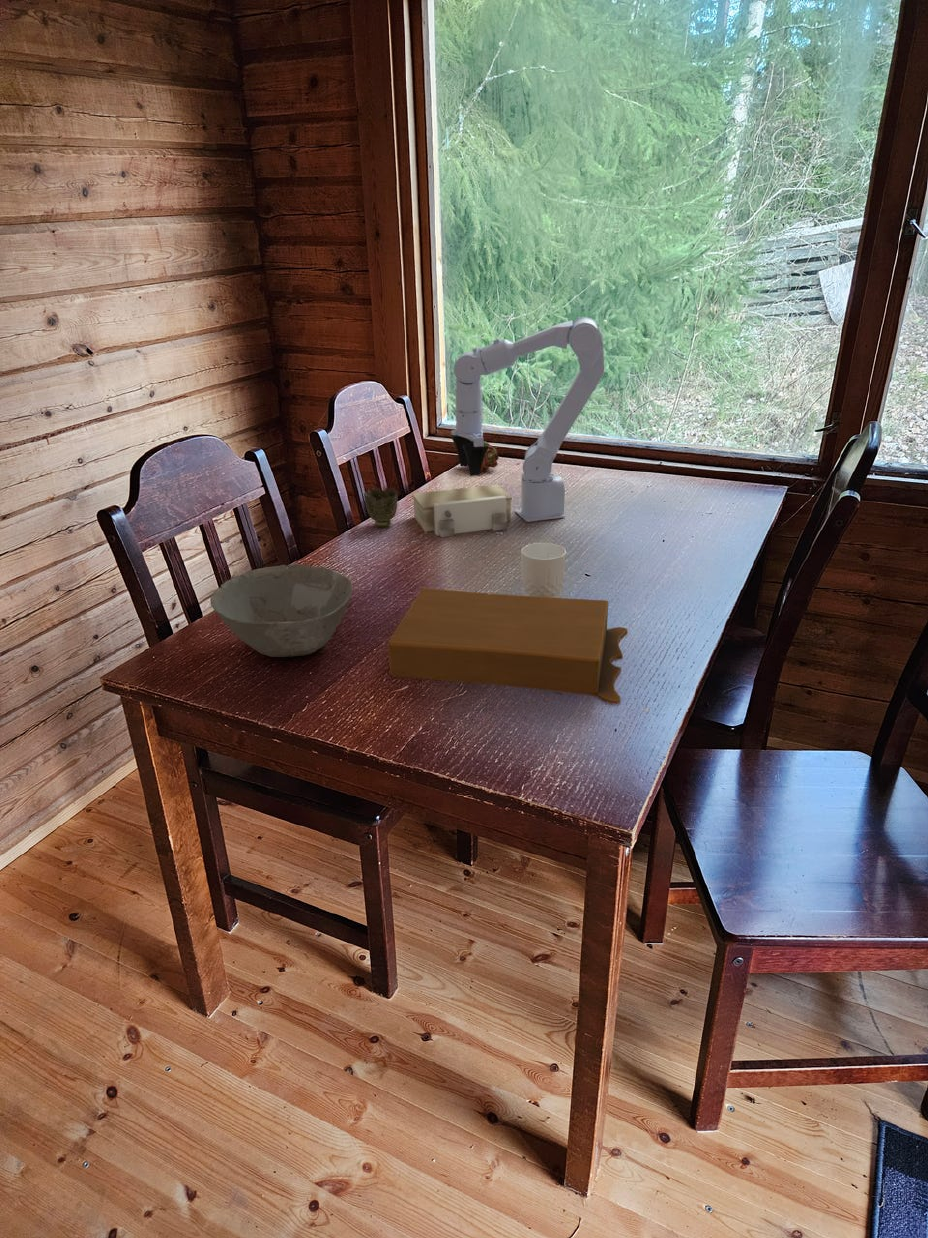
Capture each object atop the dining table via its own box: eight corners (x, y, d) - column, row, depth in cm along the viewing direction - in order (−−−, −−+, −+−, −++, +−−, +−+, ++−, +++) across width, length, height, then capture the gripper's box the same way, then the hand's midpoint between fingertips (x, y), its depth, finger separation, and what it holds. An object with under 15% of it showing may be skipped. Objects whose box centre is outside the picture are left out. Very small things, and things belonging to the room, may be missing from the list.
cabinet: (497, 507, 198) (497, 484, 195) (518, 527, 185) (518, 503, 183) (413, 516, 193) (412, 493, 190) (429, 538, 180) (428, 514, 178)
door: (503, 525, 187) (504, 495, 184) (508, 529, 185) (508, 499, 182) (434, 533, 183) (433, 503, 180) (438, 538, 181) (437, 507, 178)
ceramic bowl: (296, 695, 124) (289, 636, 119) (190, 657, 135) (179, 602, 131) (386, 635, 141) (382, 581, 136) (284, 605, 152) (278, 554, 147)
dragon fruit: (499, 479, 223) (461, 480, 228) (508, 454, 226) (470, 456, 232) (487, 459, 216) (448, 460, 222) (497, 433, 219) (457, 435, 225)
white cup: (568, 595, 153) (570, 545, 149) (558, 614, 146) (560, 561, 142) (526, 590, 155) (527, 540, 151) (515, 608, 149) (515, 556, 144)
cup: (402, 520, 191) (400, 486, 187) (396, 532, 184) (394, 497, 181) (370, 520, 192) (367, 486, 188) (363, 531, 185) (360, 496, 182)
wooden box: (424, 584, 145) (629, 597, 138) (426, 617, 148) (627, 632, 141) (384, 647, 125) (622, 667, 117) (387, 685, 127) (619, 706, 120)
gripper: (442, 404, 188) (444, 463, 195) (460, 418, 176) (461, 481, 182) (472, 402, 190) (473, 460, 196) (492, 416, 178) (492, 477, 184)
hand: (469, 470), depth 189 cm, fingers open, 7 cm apart
